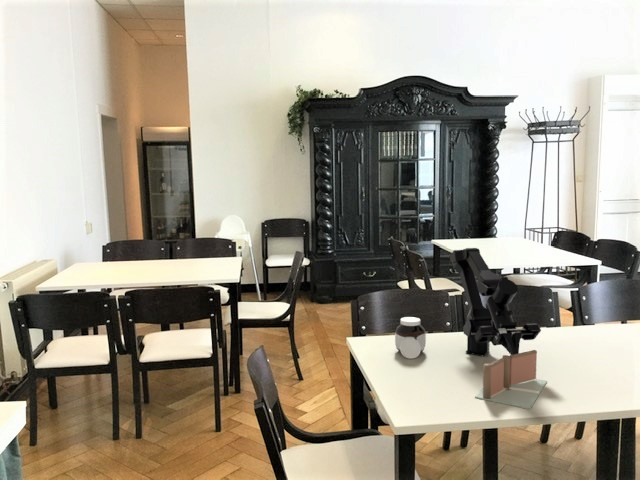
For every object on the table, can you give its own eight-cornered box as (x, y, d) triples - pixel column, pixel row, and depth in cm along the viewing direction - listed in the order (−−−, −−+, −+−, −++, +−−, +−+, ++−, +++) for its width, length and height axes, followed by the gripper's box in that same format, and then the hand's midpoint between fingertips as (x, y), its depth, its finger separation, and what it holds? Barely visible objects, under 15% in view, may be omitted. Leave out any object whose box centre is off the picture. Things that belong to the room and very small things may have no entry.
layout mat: (475, 397, 146) (475, 396, 146) (497, 372, 165) (497, 371, 165) (530, 409, 138) (530, 408, 138) (546, 381, 157) (547, 380, 157)
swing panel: (505, 388, 151) (506, 358, 150) (500, 386, 153) (500, 355, 152) (537, 380, 156) (538, 350, 155) (532, 377, 158) (532, 348, 157)
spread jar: (415, 346, 191) (415, 315, 190) (435, 356, 181) (435, 322, 180) (387, 352, 186) (387, 319, 185) (405, 361, 176) (406, 327, 175)
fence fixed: (482, 398, 145) (482, 365, 144) (494, 383, 156) (495, 352, 155) (502, 403, 142) (503, 369, 141) (514, 387, 153) (515, 355, 152)
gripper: (519, 324, 173) (536, 369, 163) (464, 327, 171) (477, 372, 161) (532, 306, 164) (550, 352, 154) (474, 308, 162) (489, 355, 152)
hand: (516, 358), depth 156 cm, fingers closed
